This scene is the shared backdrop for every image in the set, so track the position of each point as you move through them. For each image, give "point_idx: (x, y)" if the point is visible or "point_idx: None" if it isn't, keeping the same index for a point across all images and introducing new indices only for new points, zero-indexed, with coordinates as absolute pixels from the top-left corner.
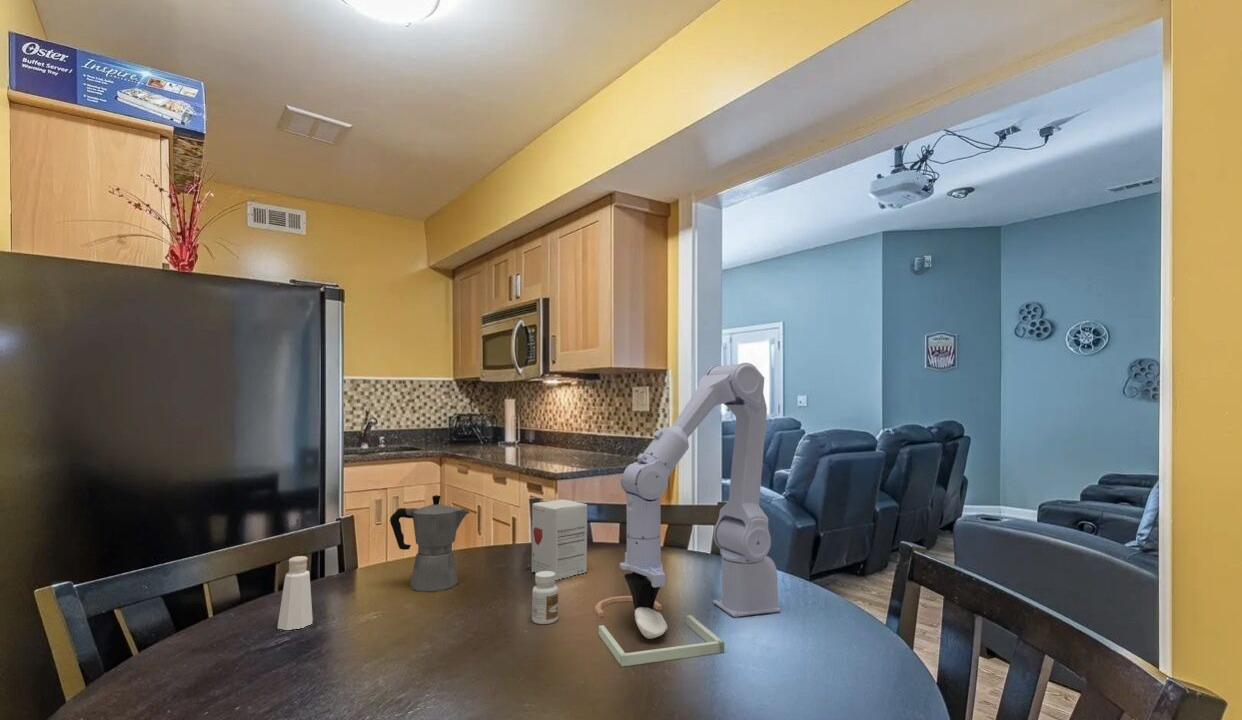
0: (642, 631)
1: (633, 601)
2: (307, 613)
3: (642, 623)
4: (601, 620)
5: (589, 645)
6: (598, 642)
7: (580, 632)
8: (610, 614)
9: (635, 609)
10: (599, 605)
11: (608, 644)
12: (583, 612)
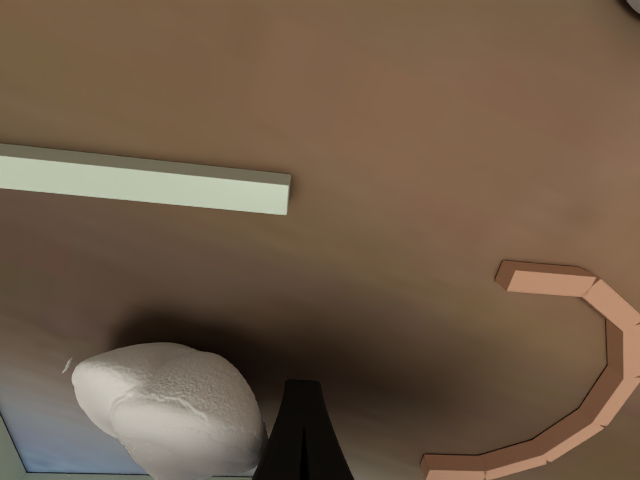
0: (114, 349)
1: (332, 452)
2: None
3: (89, 382)
4: (459, 254)
5: (162, 65)
6: (193, 134)
7: (369, 88)
8: (499, 312)
9: (309, 416)
10: (600, 303)
11: (83, 156)
12: (611, 213)
